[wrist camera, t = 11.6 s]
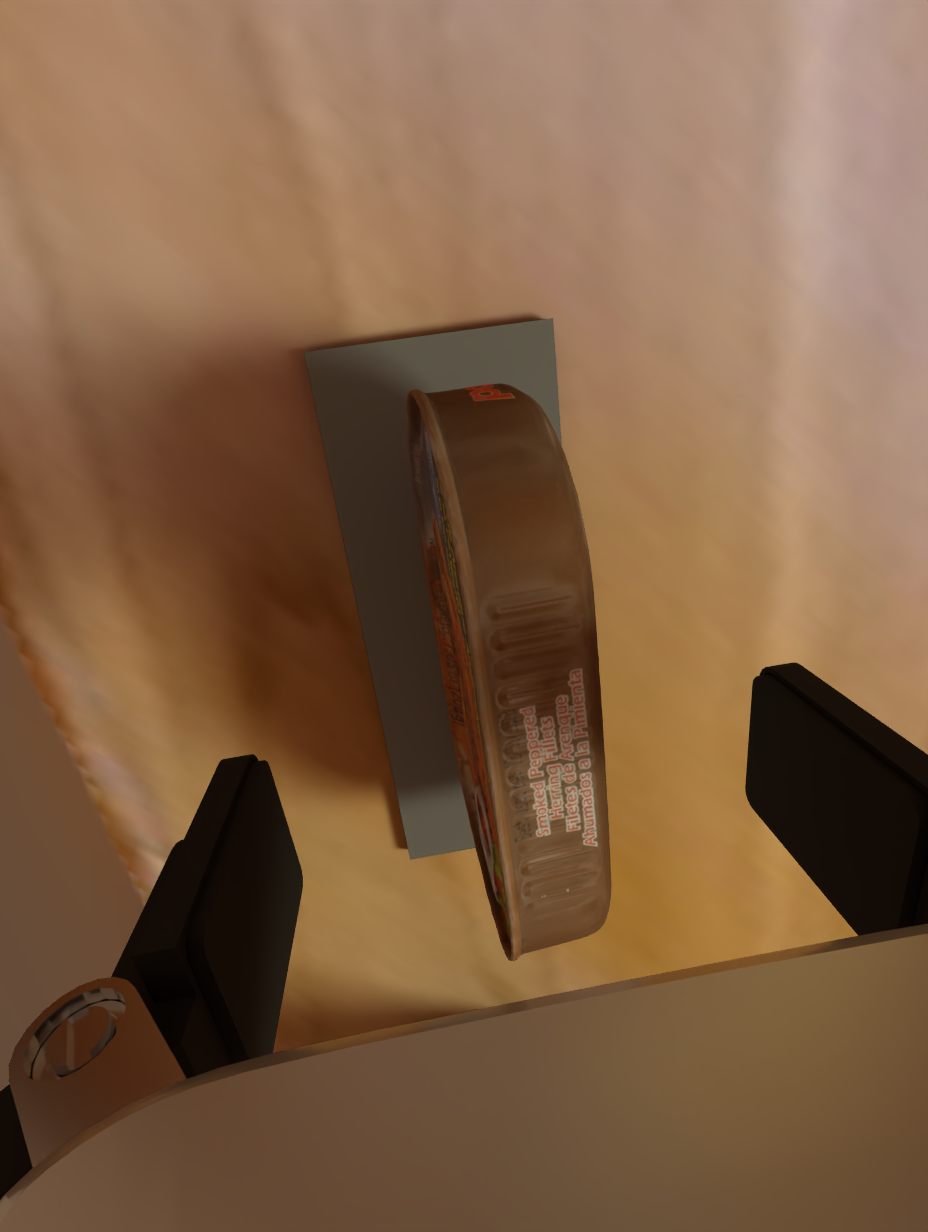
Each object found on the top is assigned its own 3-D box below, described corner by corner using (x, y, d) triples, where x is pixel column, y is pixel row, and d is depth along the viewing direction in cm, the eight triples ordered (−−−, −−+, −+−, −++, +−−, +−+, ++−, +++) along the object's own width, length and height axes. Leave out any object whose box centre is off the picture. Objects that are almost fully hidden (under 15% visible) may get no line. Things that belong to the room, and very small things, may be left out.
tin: (396, 393, 17) (394, 390, 9) (504, 377, 17) (596, 362, 9) (464, 816, 22) (500, 1045, 14) (545, 801, 22) (626, 1020, 15)
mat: (306, 353, 17) (303, 352, 16) (548, 320, 17) (552, 318, 17) (410, 850, 23) (410, 859, 23) (584, 818, 23) (587, 827, 23)
